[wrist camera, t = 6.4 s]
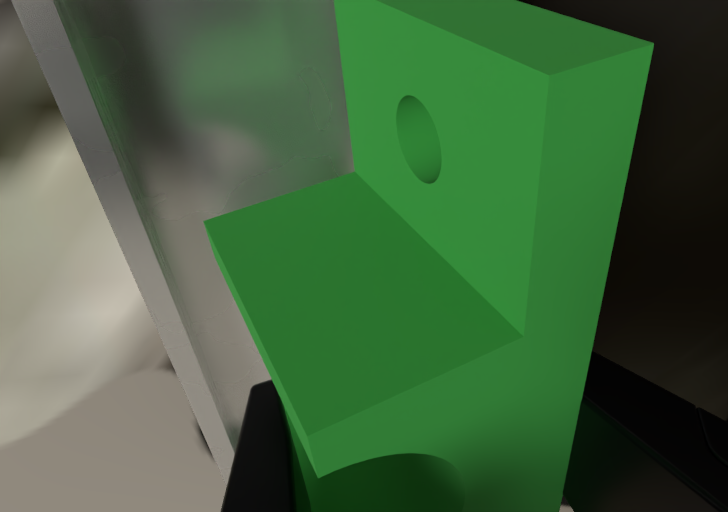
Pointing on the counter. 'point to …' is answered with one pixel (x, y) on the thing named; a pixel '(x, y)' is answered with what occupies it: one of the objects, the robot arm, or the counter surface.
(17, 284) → the counter surface
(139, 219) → the grey rectangular tray
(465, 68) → the pipe clamp
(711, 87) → the counter surface
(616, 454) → the robot arm
